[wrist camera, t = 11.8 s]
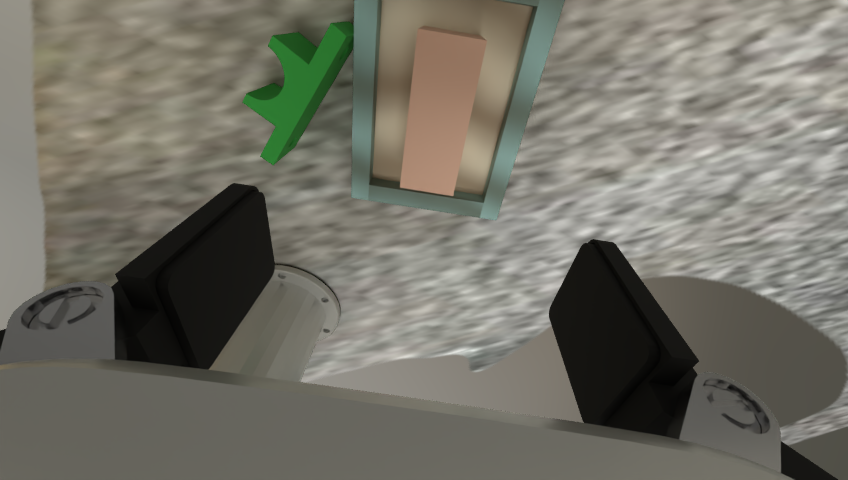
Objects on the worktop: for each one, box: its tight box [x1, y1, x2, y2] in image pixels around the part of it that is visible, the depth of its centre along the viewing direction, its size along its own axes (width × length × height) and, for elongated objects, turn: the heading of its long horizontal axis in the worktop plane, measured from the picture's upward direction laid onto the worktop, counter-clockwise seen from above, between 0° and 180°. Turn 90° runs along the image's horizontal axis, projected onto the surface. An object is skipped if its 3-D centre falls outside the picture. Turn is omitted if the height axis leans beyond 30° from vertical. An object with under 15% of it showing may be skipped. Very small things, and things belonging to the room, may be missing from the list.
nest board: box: [351, 0, 565, 220], centre depth 25 cm, size 17×13×2 cm
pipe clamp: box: [243, 22, 354, 165], centre depth 25 cm, size 11×4×5 cm, turn 141°
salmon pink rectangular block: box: [400, 26, 487, 196], centre depth 24 cm, size 4×10×5 cm, turn 172°
